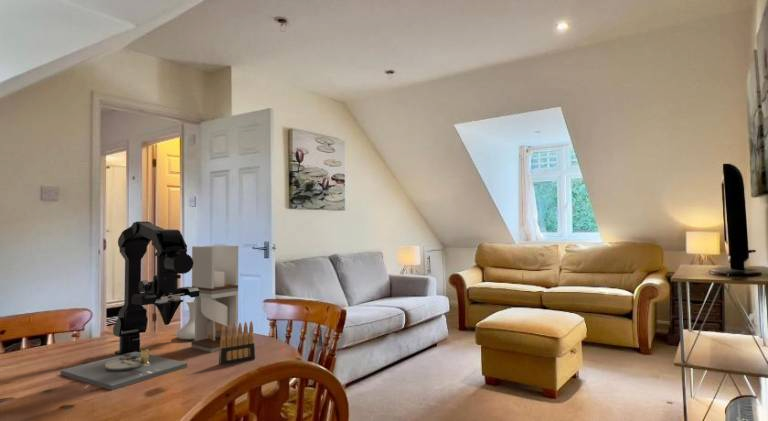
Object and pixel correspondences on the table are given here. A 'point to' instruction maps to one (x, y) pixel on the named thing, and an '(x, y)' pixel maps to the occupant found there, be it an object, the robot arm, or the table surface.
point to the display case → (214, 293)
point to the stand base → (122, 372)
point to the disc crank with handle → (128, 361)
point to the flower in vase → (188, 329)
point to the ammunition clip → (236, 345)
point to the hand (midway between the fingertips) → (166, 324)
